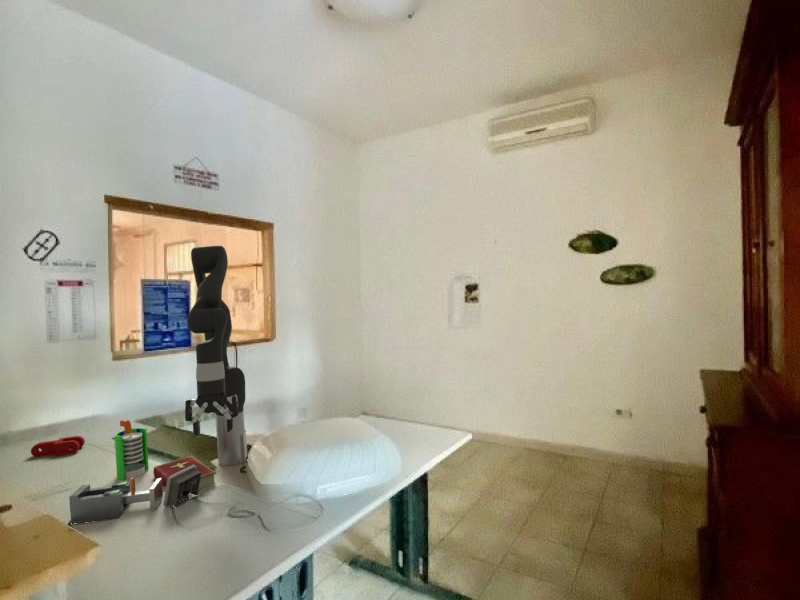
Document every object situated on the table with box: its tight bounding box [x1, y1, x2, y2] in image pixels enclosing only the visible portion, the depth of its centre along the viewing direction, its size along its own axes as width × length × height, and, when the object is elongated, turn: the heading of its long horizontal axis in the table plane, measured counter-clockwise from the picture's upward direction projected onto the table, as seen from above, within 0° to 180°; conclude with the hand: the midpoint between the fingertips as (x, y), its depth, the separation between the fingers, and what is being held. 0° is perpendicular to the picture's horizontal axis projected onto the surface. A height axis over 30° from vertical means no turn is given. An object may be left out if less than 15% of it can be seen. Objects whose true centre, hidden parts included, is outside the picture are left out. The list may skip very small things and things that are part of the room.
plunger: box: [123, 477, 164, 510], centre depth 121 cm, size 13×7×8 cm, turn 103°
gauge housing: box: [67, 481, 132, 527], centre depth 120 cm, size 12×10×7 cm
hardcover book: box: [152, 455, 217, 490], centre depth 138 cm, size 12×21×4 cm, turn 44°
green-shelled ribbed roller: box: [114, 418, 149, 480], centre depth 146 cm, size 9×8×18 cm
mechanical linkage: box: [30, 435, 86, 458], centre depth 169 cm, size 16×7×5 cm, turn 108°
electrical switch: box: [163, 465, 201, 508], centre depth 124 cm, size 9×5×9 cm, turn 158°
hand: (213, 433), depth 126 cm, fingers open, 8 cm apart
